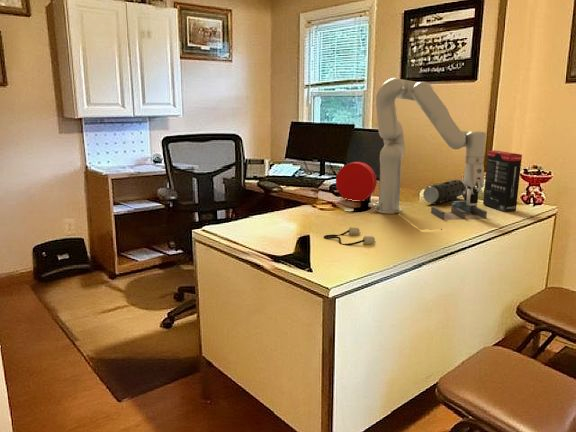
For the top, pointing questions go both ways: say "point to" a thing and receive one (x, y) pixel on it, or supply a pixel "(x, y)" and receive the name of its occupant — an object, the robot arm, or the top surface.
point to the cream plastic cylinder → (469, 192)
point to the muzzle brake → (443, 191)
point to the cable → (354, 231)
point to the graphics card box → (502, 180)
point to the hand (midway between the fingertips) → (471, 201)
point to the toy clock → (356, 181)
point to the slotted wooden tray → (460, 212)
